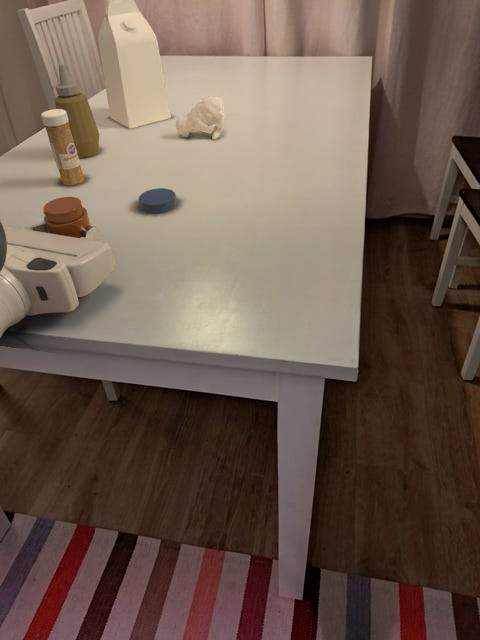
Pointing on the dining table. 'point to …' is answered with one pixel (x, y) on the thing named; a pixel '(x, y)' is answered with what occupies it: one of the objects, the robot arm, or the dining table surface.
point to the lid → (157, 200)
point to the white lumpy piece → (203, 117)
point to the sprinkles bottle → (63, 146)
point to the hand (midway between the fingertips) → (74, 227)
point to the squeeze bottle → (77, 115)
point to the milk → (132, 66)
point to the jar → (66, 217)
